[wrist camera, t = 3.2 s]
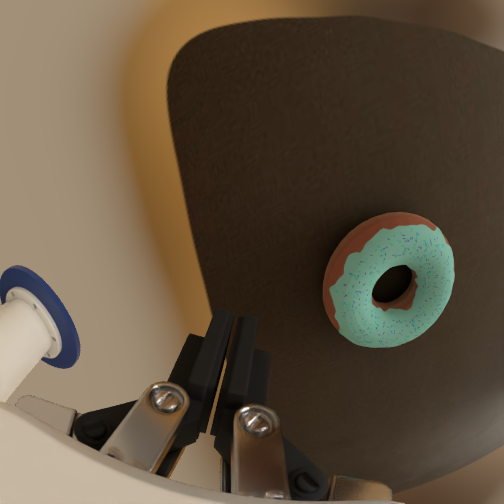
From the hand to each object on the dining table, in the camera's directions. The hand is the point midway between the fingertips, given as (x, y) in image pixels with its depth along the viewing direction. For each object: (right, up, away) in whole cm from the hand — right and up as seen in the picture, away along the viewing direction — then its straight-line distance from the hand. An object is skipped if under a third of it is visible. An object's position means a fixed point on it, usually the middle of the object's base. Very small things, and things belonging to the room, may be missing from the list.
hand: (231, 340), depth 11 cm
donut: (+12, +2, +12) cm, 17 cm away
